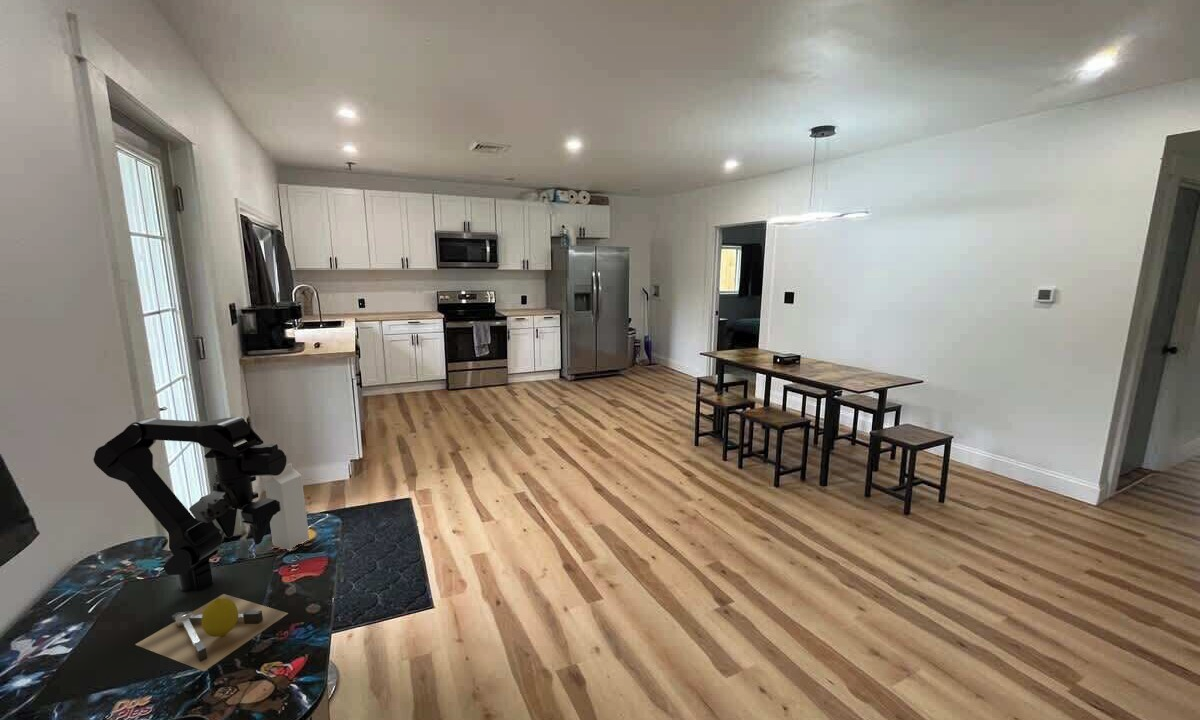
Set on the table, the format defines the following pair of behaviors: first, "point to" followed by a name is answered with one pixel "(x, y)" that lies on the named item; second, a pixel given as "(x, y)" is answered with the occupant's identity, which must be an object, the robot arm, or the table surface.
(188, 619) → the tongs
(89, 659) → the table surface
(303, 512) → the milk
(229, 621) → the lemon
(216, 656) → the board
